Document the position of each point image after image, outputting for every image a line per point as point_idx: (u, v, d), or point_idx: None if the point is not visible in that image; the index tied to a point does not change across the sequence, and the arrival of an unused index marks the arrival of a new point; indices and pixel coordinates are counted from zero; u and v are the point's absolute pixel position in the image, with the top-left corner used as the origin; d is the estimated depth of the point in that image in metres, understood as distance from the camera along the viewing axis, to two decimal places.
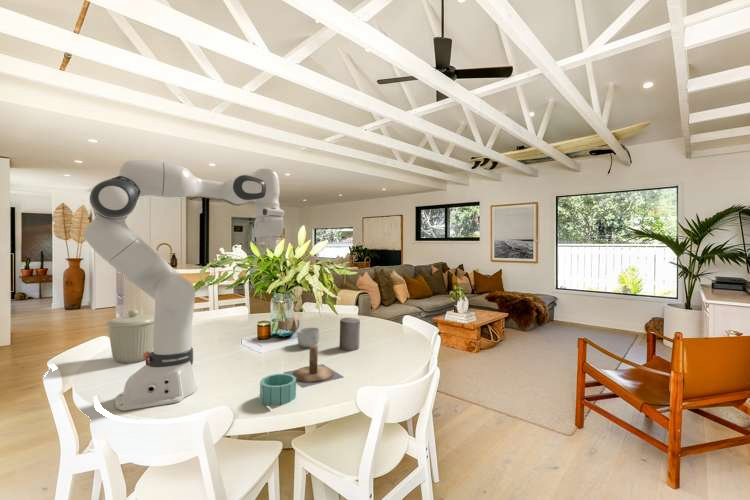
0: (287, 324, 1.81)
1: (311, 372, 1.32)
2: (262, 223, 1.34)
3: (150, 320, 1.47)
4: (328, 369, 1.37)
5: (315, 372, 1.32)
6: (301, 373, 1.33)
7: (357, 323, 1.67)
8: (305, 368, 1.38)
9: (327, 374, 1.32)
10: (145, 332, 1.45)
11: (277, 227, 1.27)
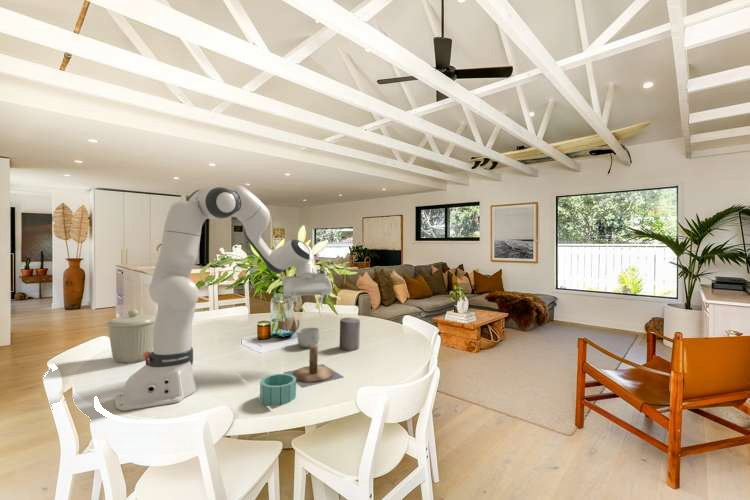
0: (287, 324, 1.81)
1: (311, 372, 1.32)
2: (305, 281, 1.49)
3: (150, 320, 1.47)
4: (328, 369, 1.37)
5: (315, 372, 1.32)
6: (301, 373, 1.33)
7: (357, 323, 1.67)
8: (305, 368, 1.38)
9: (327, 374, 1.32)
10: (145, 332, 1.45)
11: None
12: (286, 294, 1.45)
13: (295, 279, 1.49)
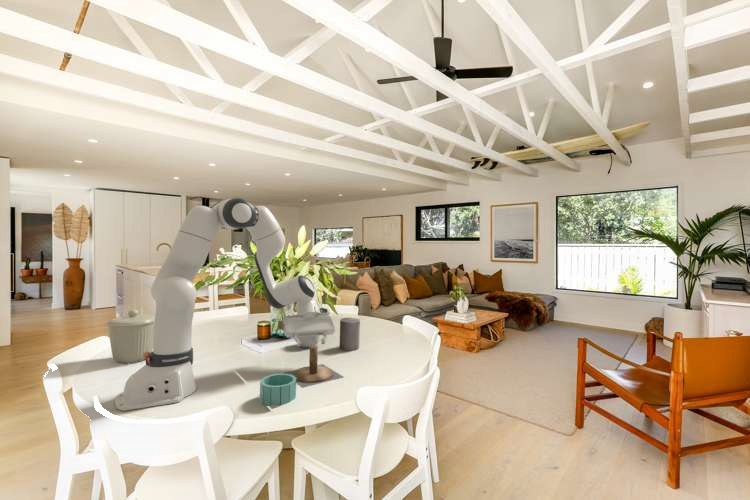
0: None
1: (311, 372, 1.32)
2: (307, 321, 1.43)
3: (150, 320, 1.47)
4: (328, 369, 1.37)
5: (315, 372, 1.32)
6: (301, 373, 1.33)
7: (357, 323, 1.67)
8: (305, 368, 1.38)
9: (327, 374, 1.32)
10: (145, 332, 1.45)
11: None
12: (287, 336, 1.38)
13: (297, 319, 1.42)
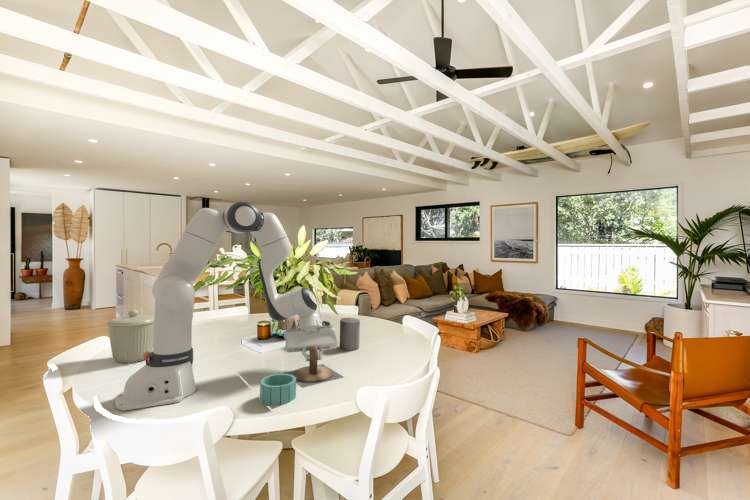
0: (287, 324, 1.81)
1: (311, 372, 1.32)
2: (309, 335, 1.38)
3: (150, 320, 1.47)
4: (328, 369, 1.37)
5: (315, 372, 1.32)
6: (301, 373, 1.33)
7: (357, 323, 1.67)
8: (305, 368, 1.38)
9: (327, 374, 1.32)
10: (145, 332, 1.45)
11: None
12: (288, 350, 1.33)
13: (298, 333, 1.37)
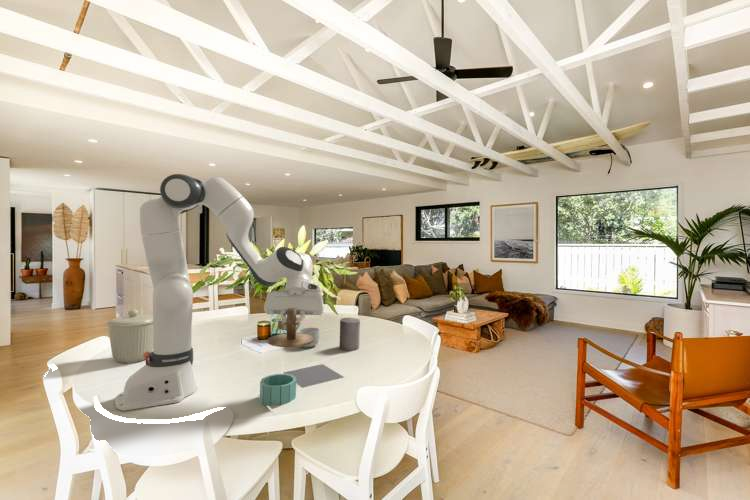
0: None
1: (287, 337, 1.17)
2: (292, 297, 1.23)
3: (150, 320, 1.47)
4: (310, 337, 1.20)
5: (292, 338, 1.17)
6: (278, 337, 1.19)
7: (357, 323, 1.67)
8: None
9: (304, 341, 1.15)
10: (145, 332, 1.45)
11: None
12: (267, 312, 1.21)
13: (280, 294, 1.24)
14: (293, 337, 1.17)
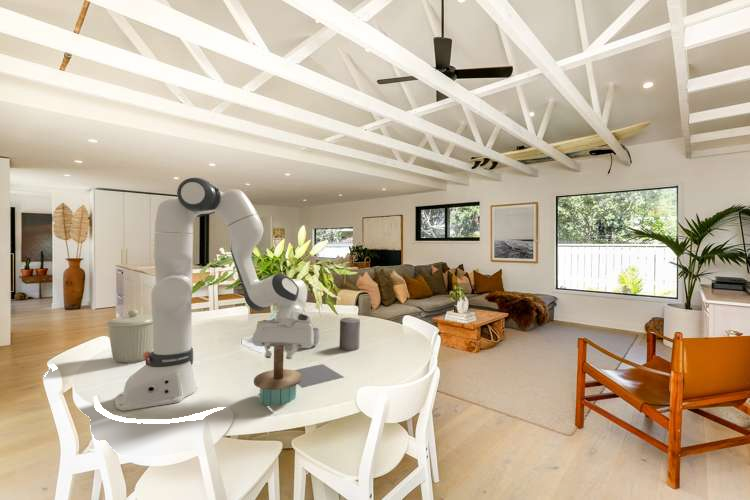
0: None
1: (274, 377, 1.13)
2: (281, 328, 1.19)
3: (150, 320, 1.47)
4: (298, 376, 1.15)
5: (278, 377, 1.12)
6: (266, 375, 1.15)
7: (357, 323, 1.67)
8: None
9: (290, 381, 1.10)
10: (145, 332, 1.45)
11: (312, 337, 1.17)
12: (255, 344, 1.17)
13: (270, 325, 1.19)
14: (280, 376, 1.12)
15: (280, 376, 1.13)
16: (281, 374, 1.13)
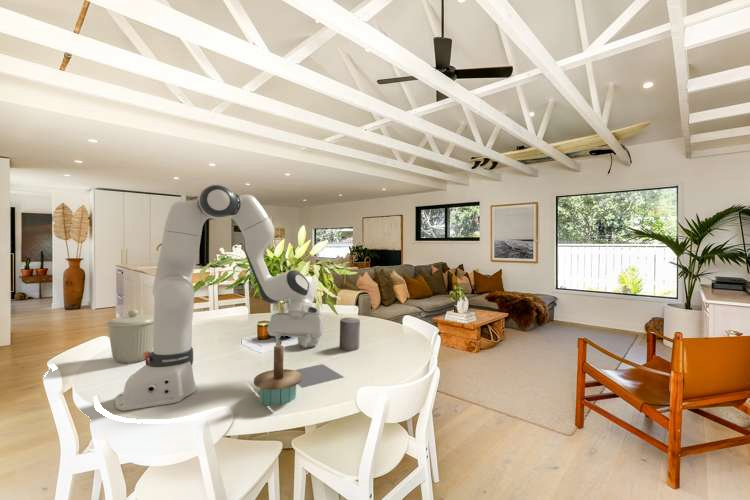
0: None
1: (274, 377, 1.13)
2: (293, 320, 1.31)
3: (150, 320, 1.47)
4: (298, 376, 1.15)
5: (278, 377, 1.12)
6: (266, 375, 1.15)
7: (357, 323, 1.67)
8: None
9: (290, 381, 1.10)
10: (145, 332, 1.45)
11: (321, 328, 1.30)
12: (270, 334, 1.30)
13: (283, 317, 1.32)
14: (280, 376, 1.12)
15: (280, 376, 1.13)
16: (281, 374, 1.13)
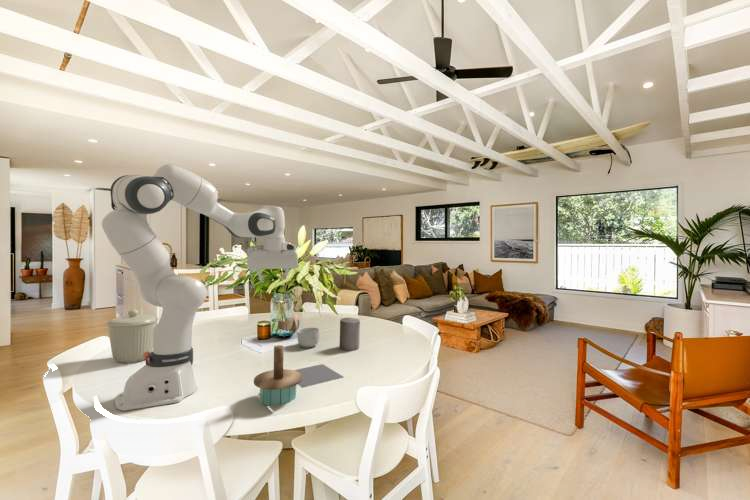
0: (287, 324, 1.81)
1: (274, 377, 1.13)
2: (272, 256, 1.41)
3: (150, 320, 1.47)
4: (298, 376, 1.15)
5: (278, 377, 1.12)
6: (266, 375, 1.15)
7: (357, 323, 1.67)
8: None
9: (290, 381, 1.10)
10: (145, 332, 1.45)
11: None
12: None
13: (262, 253, 1.38)
14: (280, 376, 1.12)
15: (280, 376, 1.13)
16: (281, 374, 1.13)
